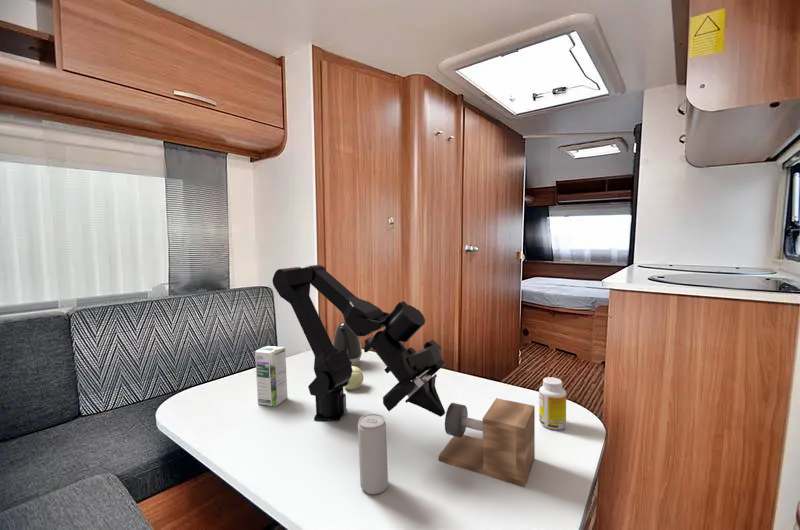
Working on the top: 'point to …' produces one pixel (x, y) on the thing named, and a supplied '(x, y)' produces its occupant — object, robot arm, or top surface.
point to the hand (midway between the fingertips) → (443, 414)
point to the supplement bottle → (552, 404)
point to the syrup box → (271, 375)
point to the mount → (498, 444)
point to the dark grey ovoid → (347, 343)
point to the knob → (460, 420)
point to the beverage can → (373, 453)
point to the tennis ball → (355, 379)
